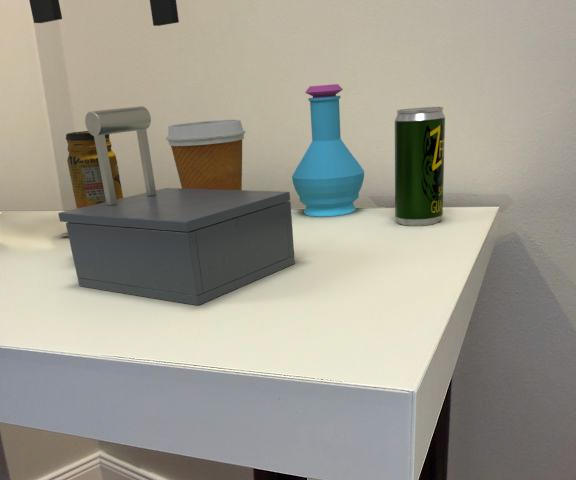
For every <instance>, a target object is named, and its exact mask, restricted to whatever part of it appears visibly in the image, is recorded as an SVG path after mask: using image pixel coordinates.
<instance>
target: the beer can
mask: <svg viewBox="0 0 576 480" xmlns="http://www.w3.org/2000/svg"><path fill="white" fill-rule="evenodd" d="M443 111H444V106H426V107H411V108H403V109H397V110H396V117H395V118H394V217H395V219H396V222H397V223H398V224H399V225H401V226H402V225H403V226H412V227H415V226H416V227H418V226H419V227H420V226H430V225H435V224H438V223H439V222H441V219H442V217H443V214H444V181H445V180H444V178H445V177H444V174H445V137H446V136H445V135H446V134H445V133H446V116H445V114H444V112H443Z"/></svg>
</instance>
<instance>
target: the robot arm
mask: <svg viewBox="0 0 576 480" xmlns="http://www.w3.org/2000/svg"><path fill="white" fill-rule="evenodd" d="M28 2H29V6H30V11H31V16H32V20H33V24H44V23H49V22H54V21H59V20H63V16H62V10H61V5H60V0H29V1H28ZM149 6H150V13H151V18H152V25H153V26H154V27H160V26H166V25H172V24H177V23H180V20H179V12H178V4H177V0H149Z"/></svg>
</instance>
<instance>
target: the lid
mask: <svg viewBox="0 0 576 480" xmlns="http://www.w3.org/2000/svg"><path fill="white" fill-rule="evenodd" d="M151 122H152V116H151V114H150V112H149V110H148V108H147V107H145V106H142V105H140V106H131V107H120V108H110V109H101V110H99V109H98V110H92V111H88V112H87V113H86V114H85V119H84V125H85V127H86V131H88V132H89V133H90V134H91V135H93V136H94V139H95V145H96V150H97V155H98V161H99V166H100V171H101V177H102V182H103V188H104V193H105V198H106V202H103V203H99V204H95V205H90V206H86V207H82V208H77V207H76V208H73V209H69V210H64V211H61V212H58V213H57V214H58V219H59V222H62V223H68V222H70V223H83V224H95V225H107V226H120V227H132V228H144V229H157V230H169V231H181V232H190V231H193V230H196V229H199V228H203V227H206V226H209V225H212V224H216V223H219V222H222V221H225V220H229V219H232V218H235V217H238V216H242V215H245V214H248V213H251V212H255V211H258V210H261V209H264V208H267V207H271V206H274V205H277V204H280V203H284V202H287V201H290V202H291V193H290V191H279V190H277V191H274V190H245V189H244V190H243V189H242V190H215V189H182V187H181V188H180V187H178V188H177V187H164V188H160V189H156V183H155V177H154V171H153V170H154V169H153V164H152V157H151V151H150V143H149V138H148V132H147V129H149V128H150V126H151ZM135 131H136V136H137V143H138V149H139V155H140V161H141V168H142V174H143V180H144V186H145V192H143V193H138V194H134V195H130V196H125V197H123V198H121V199H116V194H115V189H114V183H113V178H112V172H111V167H110V161H109V156H108V150H107V144H106V139H105V135H107V134H109V135H112V134H113V135H114V134H120V133H121V134H122V133H128V132H135Z"/></svg>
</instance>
